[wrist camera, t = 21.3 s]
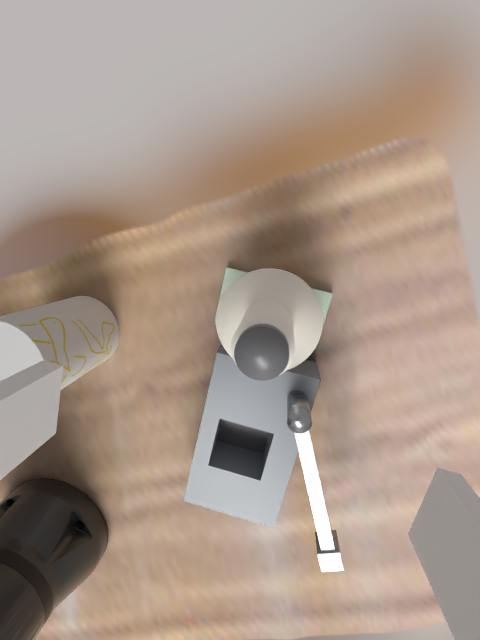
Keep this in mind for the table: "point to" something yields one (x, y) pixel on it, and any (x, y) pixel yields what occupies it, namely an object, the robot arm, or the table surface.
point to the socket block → (247, 441)
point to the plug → (269, 322)
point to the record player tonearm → (313, 482)
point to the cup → (59, 337)
